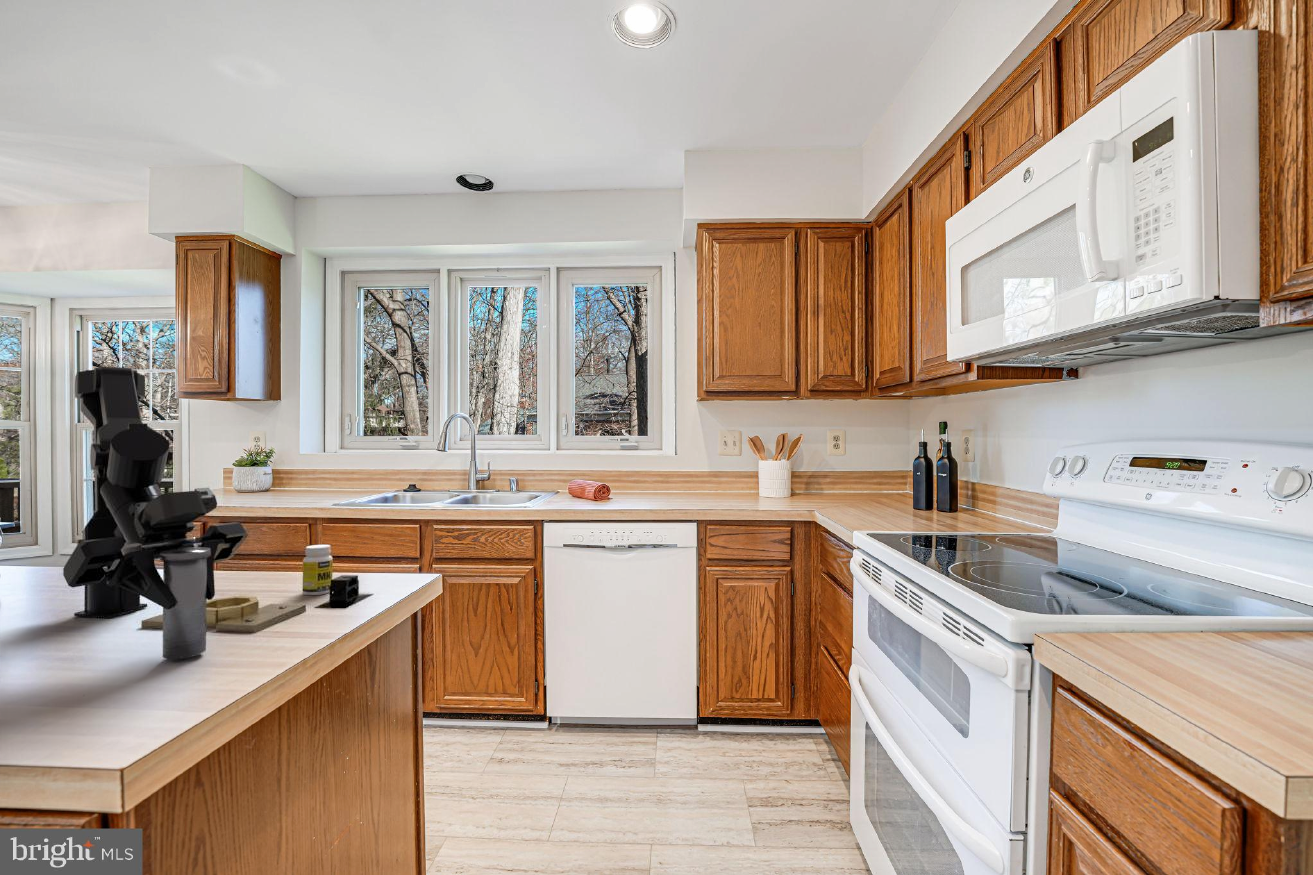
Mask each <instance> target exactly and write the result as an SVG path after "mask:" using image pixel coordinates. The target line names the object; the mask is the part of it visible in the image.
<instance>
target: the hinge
mask: <svg viewBox="0 0 1313 875" xmlns="http://www.w3.org/2000/svg"><path fill="white" fill-rule="evenodd" d="M259 601H260V600H259V599H258V598H257V596H248V595H247V596H245V595H244V596H243V595H238V596H228V597H220V598H213V599H211V600H207V605H206V628H216V629H215V630H216V631H217V632H218V631H219V632H235V633H237V632H238V633H239V632H240V633H256V632H258V631H261V630H263V629H266V628H268V627H271V626H273V625H275V624H278V623H280V622H283V621H285V620H287V619H290V618H292V617H293V618H294V617H295V616H298V615H300V614H302V613H304V612H306V611H307V610H306V609H307V606H306V604H289V603H270V604H266V605H264V606H262V607H259ZM140 623H141V624H140V625H141V627H140V628H142V629H143V628H145V629H147V628H148V629H163V613H162V614H159V615H156V616H152V617H149V618H146V619H143V620H141V621H140Z"/></svg>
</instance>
